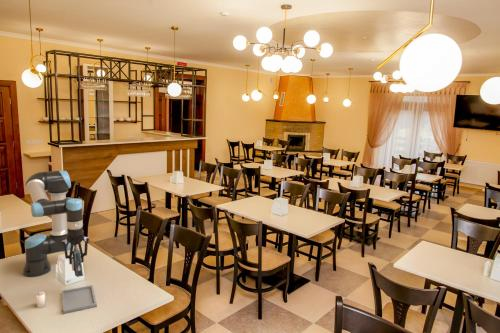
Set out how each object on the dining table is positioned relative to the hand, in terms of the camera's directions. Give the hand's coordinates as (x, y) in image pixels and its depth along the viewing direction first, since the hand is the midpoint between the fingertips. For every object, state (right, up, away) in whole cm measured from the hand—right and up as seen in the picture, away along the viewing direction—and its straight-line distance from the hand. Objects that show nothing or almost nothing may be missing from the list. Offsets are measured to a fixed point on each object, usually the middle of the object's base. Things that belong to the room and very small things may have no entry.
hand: (76, 268), depth 191 cm
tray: (0, -19, +3) cm, 19 cm away
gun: (0, -3, 0) cm, 3 cm away
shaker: (-17, -19, -4) cm, 26 cm away
